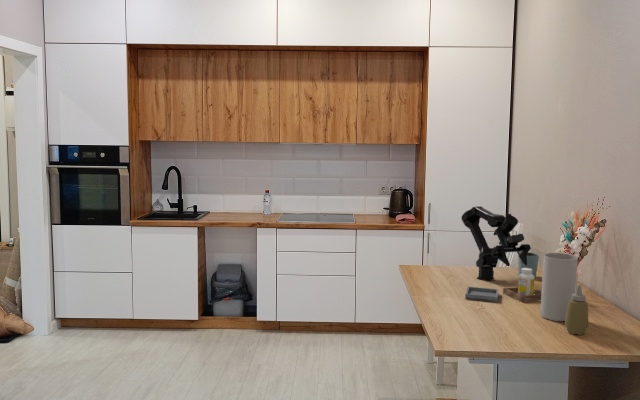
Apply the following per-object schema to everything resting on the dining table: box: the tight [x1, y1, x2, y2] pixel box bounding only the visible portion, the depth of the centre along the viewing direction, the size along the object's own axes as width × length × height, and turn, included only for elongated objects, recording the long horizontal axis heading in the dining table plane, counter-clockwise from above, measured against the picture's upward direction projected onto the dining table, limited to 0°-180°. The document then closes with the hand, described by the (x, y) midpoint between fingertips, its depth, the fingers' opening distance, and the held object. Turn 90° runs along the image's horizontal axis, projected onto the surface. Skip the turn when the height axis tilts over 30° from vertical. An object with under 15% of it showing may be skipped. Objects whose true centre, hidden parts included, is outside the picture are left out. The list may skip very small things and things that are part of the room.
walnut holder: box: [502, 286, 542, 303], centre depth 265 cm, size 14×14×2 cm
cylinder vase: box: [539, 252, 579, 323], centre depth 234 cm, size 12×12×25 cm
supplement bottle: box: [517, 268, 535, 296], centre depth 264 cm, size 7×7×13 cm
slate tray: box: [464, 286, 499, 303], centre depth 264 cm, size 14×14×2 cm
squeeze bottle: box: [564, 284, 590, 336], centre depth 216 cm, size 8×8×18 cm
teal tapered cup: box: [517, 251, 540, 279], centre depth 302 cm, size 10×10×12 cm
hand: (517, 265), depth 270 cm, fingers open, 9 cm apart
